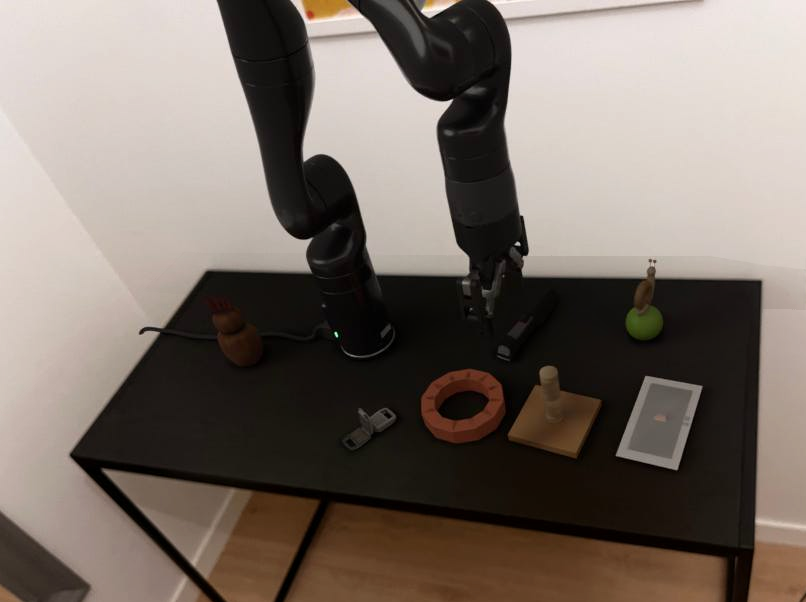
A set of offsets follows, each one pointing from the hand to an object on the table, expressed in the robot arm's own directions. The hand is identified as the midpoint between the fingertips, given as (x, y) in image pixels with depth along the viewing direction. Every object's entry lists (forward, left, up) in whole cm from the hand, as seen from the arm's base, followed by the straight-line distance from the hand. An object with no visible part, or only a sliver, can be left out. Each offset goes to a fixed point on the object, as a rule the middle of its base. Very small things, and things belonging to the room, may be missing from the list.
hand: (502, 314), depth 88 cm
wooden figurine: (-51, -2, -20) cm, 55 cm away
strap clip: (-21, -9, -20) cm, 30 cm away
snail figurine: (+11, +22, -20) cm, 32 cm away
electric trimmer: (-7, +18, -20) cm, 28 cm away
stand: (+5, +1, -20) cm, 20 cm away
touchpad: (+18, +5, -20) cm, 28 cm away
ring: (-9, -1, -20) cm, 22 cm away
